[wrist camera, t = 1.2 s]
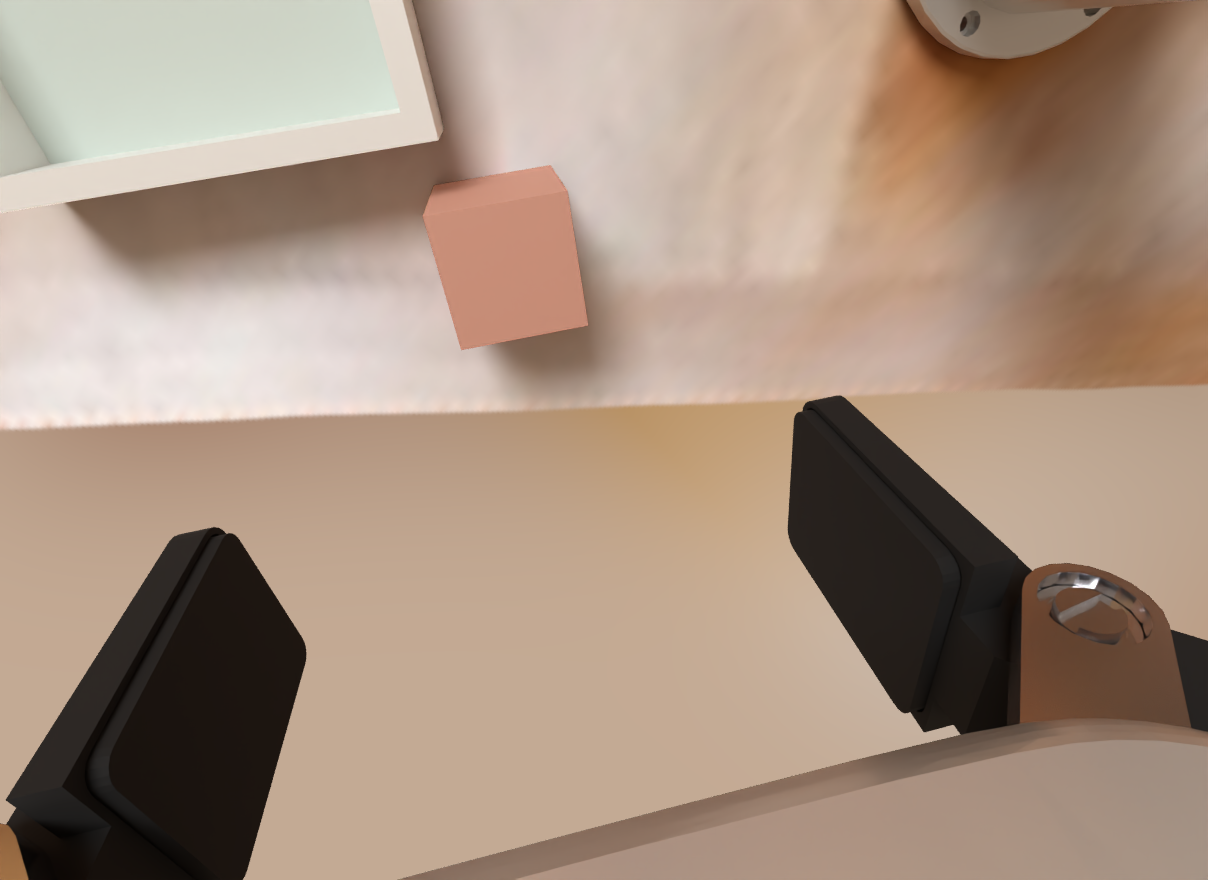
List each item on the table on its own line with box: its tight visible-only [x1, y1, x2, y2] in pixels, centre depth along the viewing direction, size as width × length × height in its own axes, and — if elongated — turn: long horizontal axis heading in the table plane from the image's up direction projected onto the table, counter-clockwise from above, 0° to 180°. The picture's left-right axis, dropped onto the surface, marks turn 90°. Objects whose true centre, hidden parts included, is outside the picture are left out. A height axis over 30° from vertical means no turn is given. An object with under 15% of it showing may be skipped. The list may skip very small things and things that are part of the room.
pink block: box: [423, 165, 588, 350], centre depth 24 cm, size 5×5×6 cm
